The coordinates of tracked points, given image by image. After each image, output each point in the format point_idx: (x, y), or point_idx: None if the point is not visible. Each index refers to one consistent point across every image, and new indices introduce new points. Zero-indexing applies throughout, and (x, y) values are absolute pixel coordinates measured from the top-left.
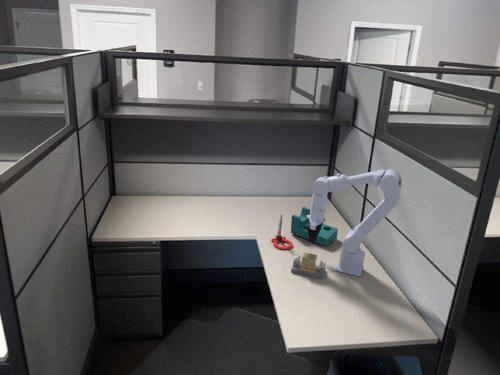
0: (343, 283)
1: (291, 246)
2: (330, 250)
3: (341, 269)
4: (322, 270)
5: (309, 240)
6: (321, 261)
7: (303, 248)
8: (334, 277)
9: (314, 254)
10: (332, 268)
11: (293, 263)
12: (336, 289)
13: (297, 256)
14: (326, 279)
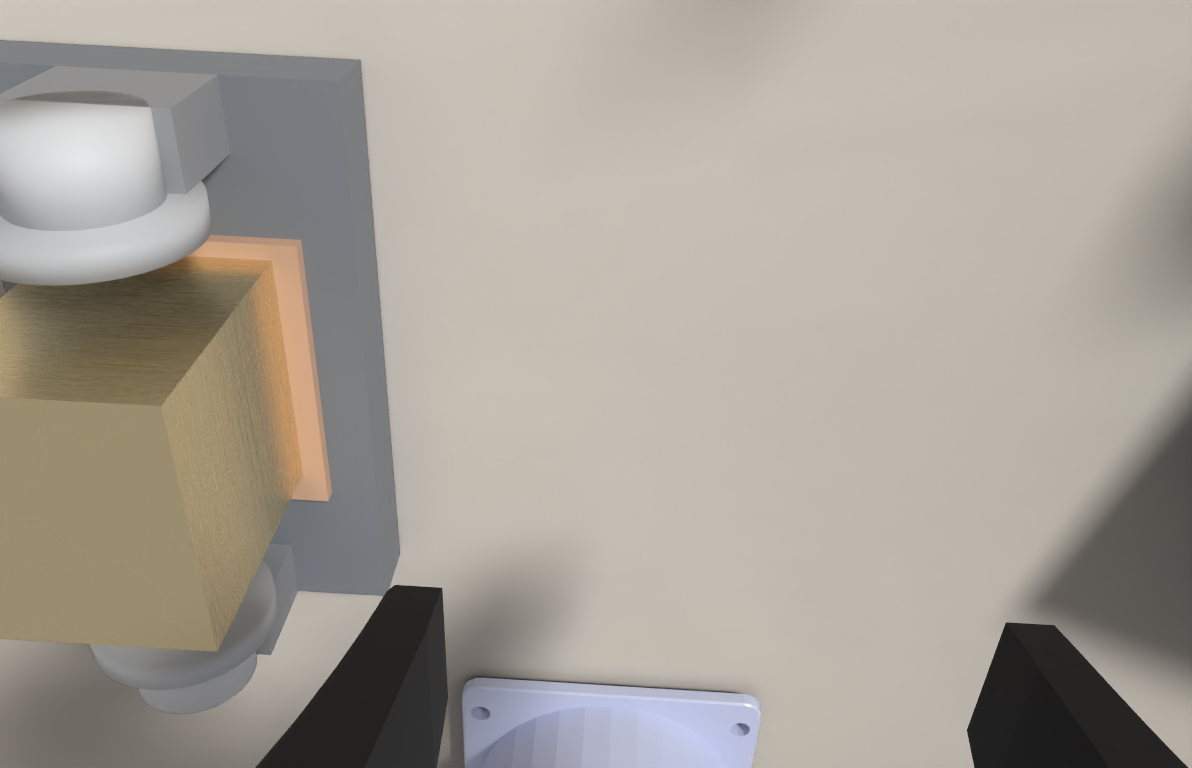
0: (223, 747)
1: None
2: (1103, 572)
3: (501, 741)
4: None
5: (367, 633)
6: (138, 684)
7: (1089, 111)
8: (295, 661)
9: (201, 604)
10: (520, 629)
11: (20, 92)
12: (34, 692)
13: (58, 208)
14: None
